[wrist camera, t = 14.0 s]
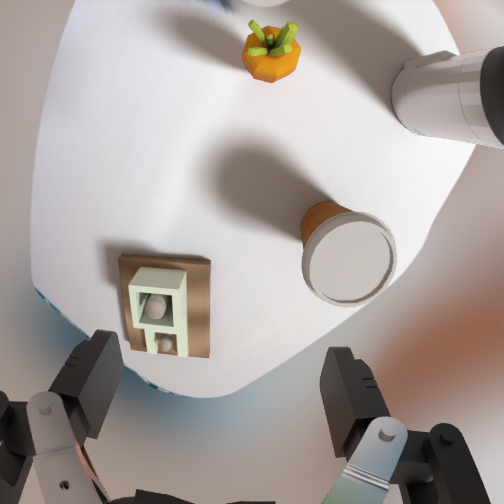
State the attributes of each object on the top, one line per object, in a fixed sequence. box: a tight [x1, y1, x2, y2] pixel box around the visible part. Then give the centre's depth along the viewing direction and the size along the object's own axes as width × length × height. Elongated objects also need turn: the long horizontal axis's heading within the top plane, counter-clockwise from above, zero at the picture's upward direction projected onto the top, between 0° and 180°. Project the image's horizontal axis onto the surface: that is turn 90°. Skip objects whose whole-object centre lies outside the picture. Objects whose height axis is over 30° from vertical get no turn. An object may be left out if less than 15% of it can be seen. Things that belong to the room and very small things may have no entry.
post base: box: [118, 254, 211, 358], centre depth 40 cm, size 15×12×6 cm
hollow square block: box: [128, 267, 188, 358], centre depth 39 cm, size 14×6×5 cm, turn 175°
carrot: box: [242, 20, 301, 83], centre depth 25 cm, size 5×5×15 cm
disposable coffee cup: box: [301, 202, 397, 307], centre depth 33 cm, size 10×10×12 cm
